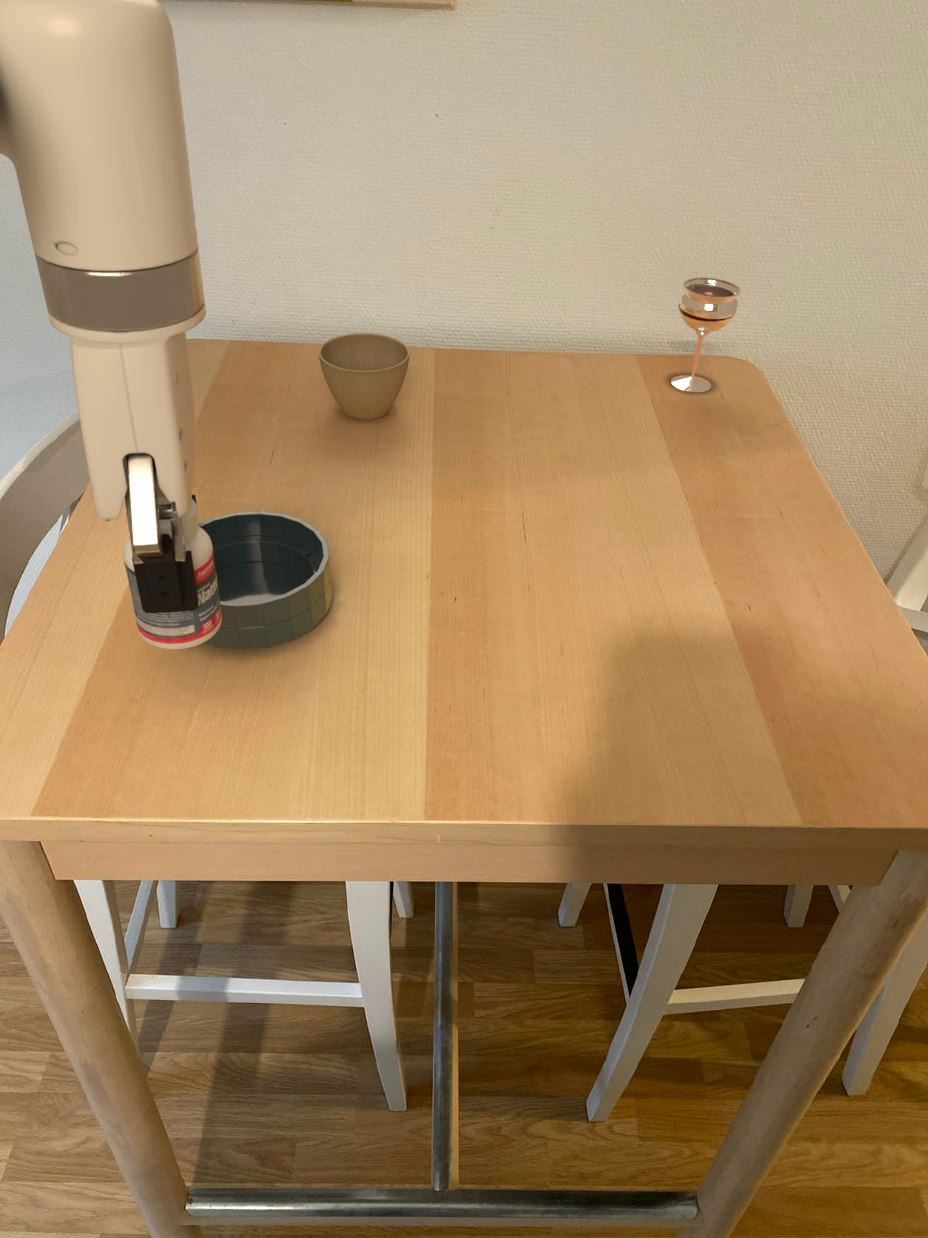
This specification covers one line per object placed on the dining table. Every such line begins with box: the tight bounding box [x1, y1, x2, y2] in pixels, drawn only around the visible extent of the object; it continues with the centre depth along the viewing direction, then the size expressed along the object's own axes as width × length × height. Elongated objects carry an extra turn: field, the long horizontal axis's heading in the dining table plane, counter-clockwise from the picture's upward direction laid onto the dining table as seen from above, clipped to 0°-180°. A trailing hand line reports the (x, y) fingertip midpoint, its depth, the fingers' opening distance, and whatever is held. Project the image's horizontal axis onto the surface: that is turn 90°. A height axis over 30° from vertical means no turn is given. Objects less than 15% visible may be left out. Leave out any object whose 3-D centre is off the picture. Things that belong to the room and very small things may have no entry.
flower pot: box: [317, 332, 411, 421], centre depth 102 cm, size 10×10×7 cm
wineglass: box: [670, 276, 742, 393], centre depth 109 cm, size 7×7×12 cm
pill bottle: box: [122, 497, 222, 650], centre depth 56 cm, size 5×5×9 cm
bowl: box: [199, 510, 333, 651], centre depth 75 cm, size 13×13×5 cm
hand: (173, 576), depth 56 cm, fingers closed on pill bottle, 5 cm apart
